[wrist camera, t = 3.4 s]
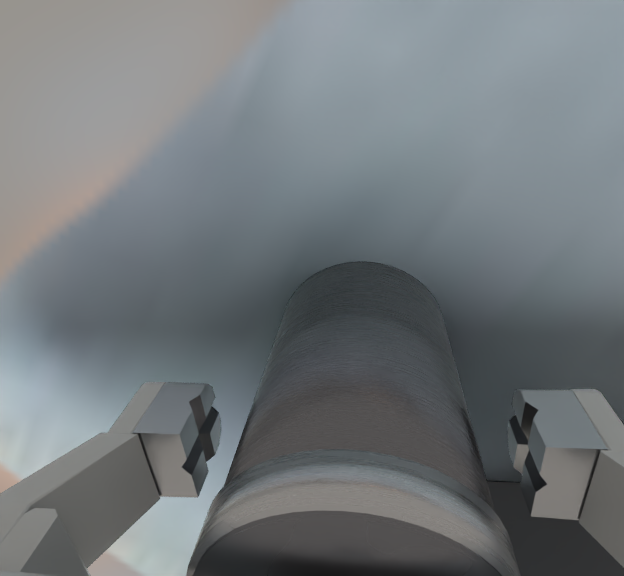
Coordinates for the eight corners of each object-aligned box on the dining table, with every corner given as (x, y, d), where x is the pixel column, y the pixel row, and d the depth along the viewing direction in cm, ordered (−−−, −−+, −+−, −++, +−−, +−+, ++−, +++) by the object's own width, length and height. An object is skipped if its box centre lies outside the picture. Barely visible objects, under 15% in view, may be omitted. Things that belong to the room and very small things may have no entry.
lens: (454, 255, 11) (565, 526, 5) (443, 401, 13) (508, 722, 7) (269, 260, 11) (145, 501, 5) (287, 398, 13) (215, 686, 7)
